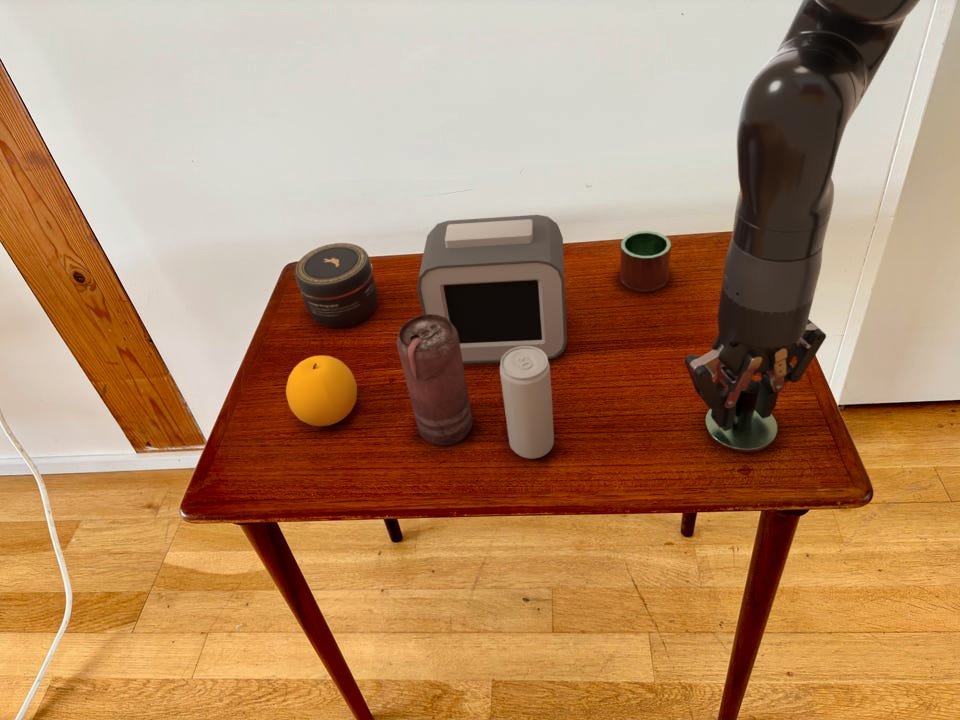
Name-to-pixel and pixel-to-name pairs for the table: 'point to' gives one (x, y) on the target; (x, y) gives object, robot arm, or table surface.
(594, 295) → the table surface
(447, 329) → the can
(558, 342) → the alarm clock
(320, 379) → the orange
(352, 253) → the jar
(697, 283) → the table surface
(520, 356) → the beverage can
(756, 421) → the lid
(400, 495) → the table surface
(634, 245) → the pot
